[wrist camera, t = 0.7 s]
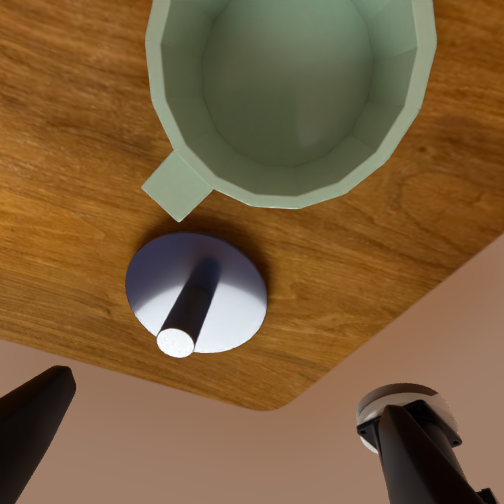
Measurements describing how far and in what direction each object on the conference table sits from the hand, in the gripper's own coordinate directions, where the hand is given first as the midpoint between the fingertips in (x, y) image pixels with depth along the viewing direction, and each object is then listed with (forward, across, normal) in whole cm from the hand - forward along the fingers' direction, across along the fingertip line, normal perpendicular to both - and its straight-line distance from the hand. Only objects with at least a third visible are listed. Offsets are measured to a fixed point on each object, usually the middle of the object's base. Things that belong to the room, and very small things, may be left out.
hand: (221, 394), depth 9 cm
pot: (+13, -1, -8) cm, 16 cm away
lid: (+13, +4, +6) cm, 15 cm away
